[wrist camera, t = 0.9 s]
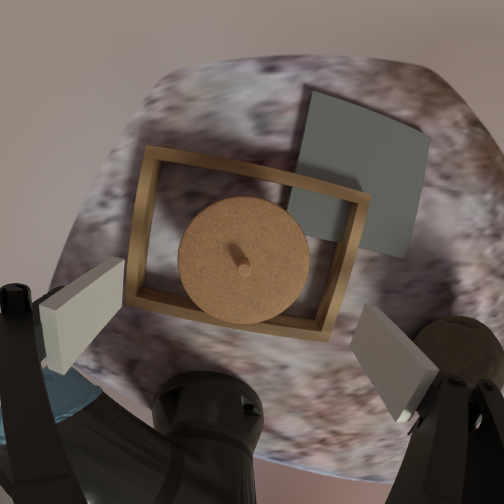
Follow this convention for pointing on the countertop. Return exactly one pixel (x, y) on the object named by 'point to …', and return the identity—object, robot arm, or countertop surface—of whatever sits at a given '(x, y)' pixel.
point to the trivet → (359, 173)
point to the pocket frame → (156, 155)
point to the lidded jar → (243, 260)
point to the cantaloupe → (463, 349)
